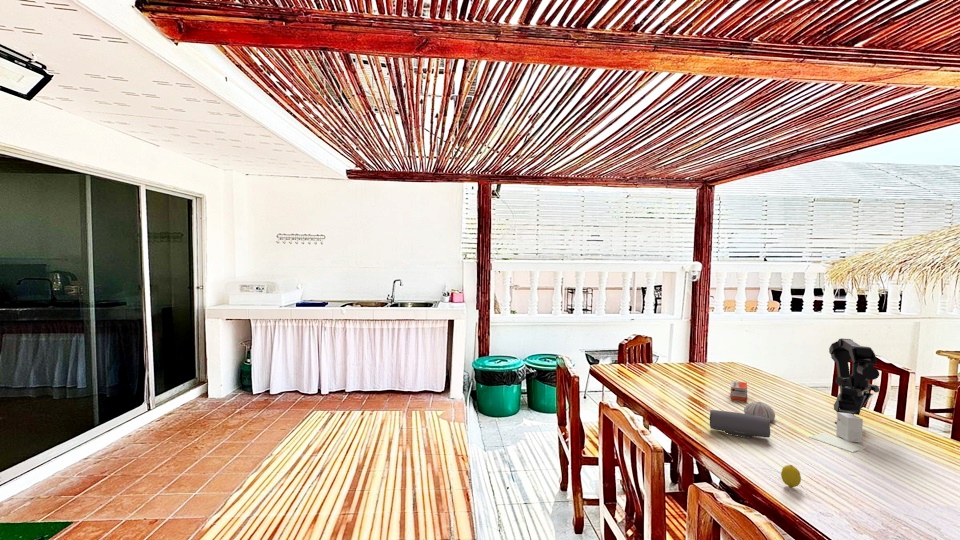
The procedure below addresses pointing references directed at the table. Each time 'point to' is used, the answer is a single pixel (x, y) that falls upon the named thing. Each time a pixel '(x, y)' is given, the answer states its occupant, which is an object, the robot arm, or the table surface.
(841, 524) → the table surface
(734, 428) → the bluetooth speaker
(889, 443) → the table surface
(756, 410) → the sea urchin shell
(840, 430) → the small box
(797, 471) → the lemon
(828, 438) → the mat
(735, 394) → the medicine box
